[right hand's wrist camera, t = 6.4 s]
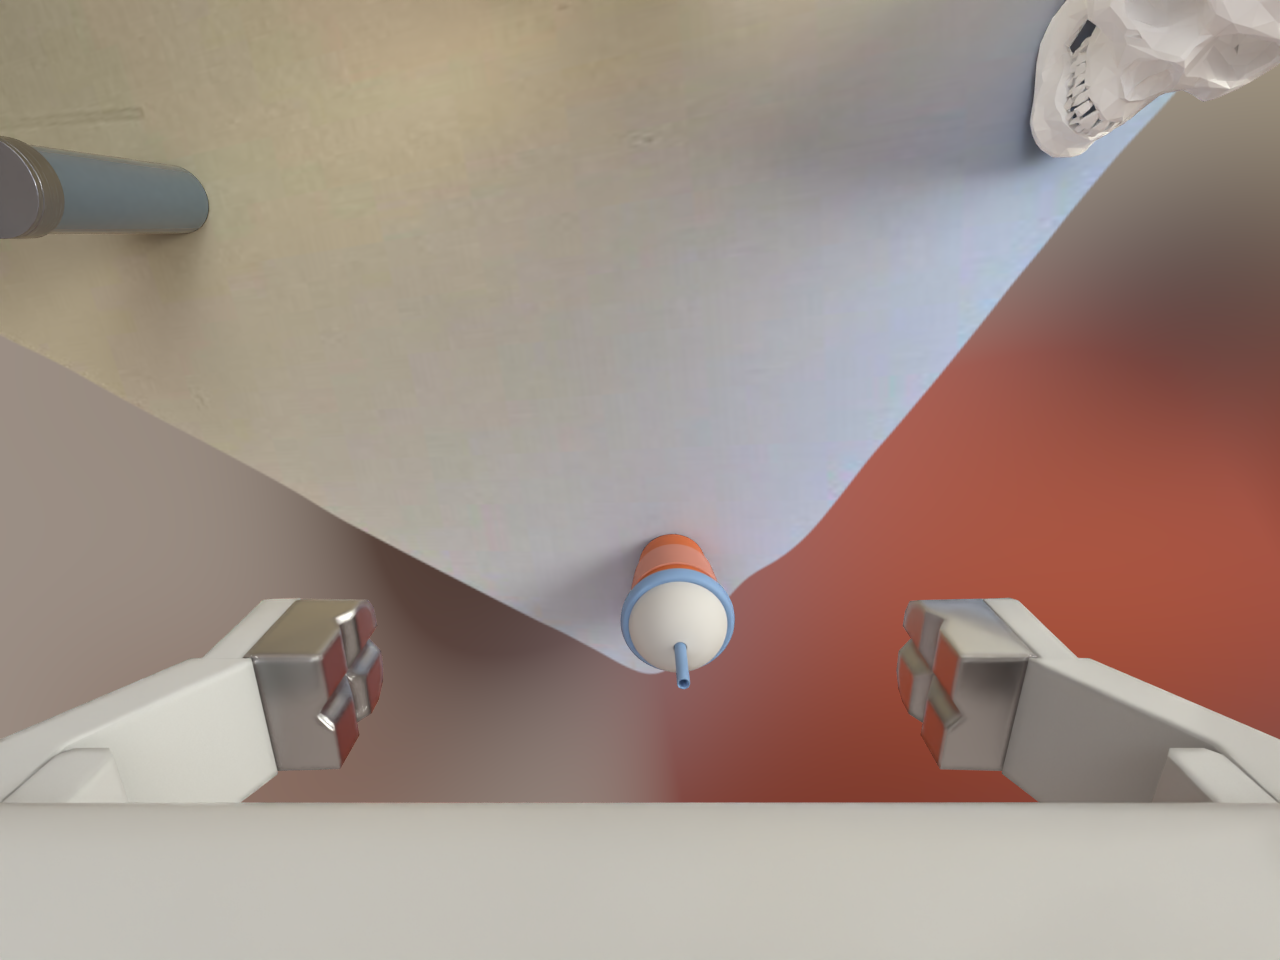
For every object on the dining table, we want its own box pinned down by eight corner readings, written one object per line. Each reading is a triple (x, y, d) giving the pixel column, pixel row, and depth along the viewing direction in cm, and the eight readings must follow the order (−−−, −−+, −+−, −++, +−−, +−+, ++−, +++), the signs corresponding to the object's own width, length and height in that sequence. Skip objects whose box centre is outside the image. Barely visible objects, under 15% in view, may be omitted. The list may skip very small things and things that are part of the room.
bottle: (175, 245, 54) (-2, 250, 39) (130, 187, 52) (-72, 169, 37) (222, 212, 53) (59, 204, 38) (177, 151, 51) (-10, 119, 37)
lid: (19, 256, 40) (-9, 257, 39) (-54, 169, 39) (-87, 166, 37) (85, 207, 39) (59, 206, 38) (12, 116, 38) (-18, 111, 36)
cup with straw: (614, 595, 64) (605, 724, 48) (634, 509, 61) (633, 615, 44) (706, 613, 65) (730, 747, 48) (731, 529, 62) (765, 640, 45)
